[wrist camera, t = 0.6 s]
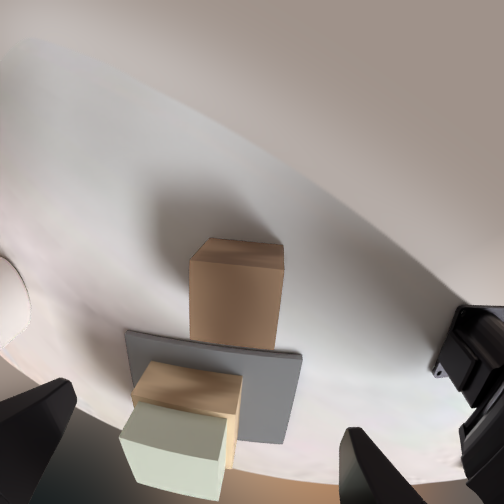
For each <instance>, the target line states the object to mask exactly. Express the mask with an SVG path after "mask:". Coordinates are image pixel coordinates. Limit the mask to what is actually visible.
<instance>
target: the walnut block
mask: <svg viewBox="0 0 504 504" xmlns="http://www.w3.org/2000/svg"><path fill="white" fill-rule="evenodd" d="M283 277H284V247H283V245H278V244H268V243H258V242H247V241H237V240H227V239H216V238H209V239H208V240H207V241H206V242H205V243H204V245H203V246H202V247H201V248H200V249H199V250H198V251H197V252H196V253H195V254H194V256H193V257H192V258H191V259H190V260H189V319H190V339H191V340H197V341H204V342H211V343H218V344H225V345H233V346H241V347H250V348H259V349H268V350H274V346H275V339H276V332H277V324H278V317H279V309H280V302H281V294H282V286H283Z"/></svg>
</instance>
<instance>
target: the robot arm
mask: <svg viewBox="0 0 504 504" xmlns="http://www.w3.org/2000/svg"><path fill="white" fill-rule="evenodd" d="M462 311H463V313H461V312H462ZM438 371H439V372H438ZM432 374H433V375H434V377H435V378H442V377H449V378H450V379H451V381H452V383H453V384H454V386H455V387H456V389H457V390H458V392H462V394H463V395H464V397H465V399H466V400H467V402H468V404H469V405H470V407H471V408H476V410H475V411H474V412H473V413H472V415H471V416H470V417H469V418H468V420H467V421H466V422H465V423H463V424H462V425H461V427H460V428H459V436H460V442H461V450H462V456H461V463H462V466H463V469H464V472H465V475H466V477H467V478H468V481H467V482H466V485H467V486H468V487H469V488H470V489H472V490H473V491H474V492H475V493H476V494H477V495H478V496H479V497H480V499H481V500H482V501H483V503H484V504H504V306H482V305H461V306H459V307H458V308H457V310H456V313H455V316H454V318H453V321H452V324H451V327H450V330H449V332H448V335H447V338H446V340H445V343H444V345H443V348H442V350H441V353H440V355H439V357H438V360H437V362H436V364H435V367H434V369H433V372H432ZM76 403H77V396H76V394H75V391H74V388H73V386H72V383H71V382H70V381H69V380H67V379H64V378H57V379H55V380H53V381H50V382H48V383H45V384H43V385H41V386H38V387H36V388H33V389H31V390H28V391H26V392H24V393H21V394H18V395H16V396H13V397H11V398H8V399H6V400H3V401H0V504H28V503H29V501H30V499H31V497H32V495H33V493H34V491H35V489H36V487H37V485H38V483H39V480H40V479H41V477H42V475H43V473H44V471H45V469H46V467H47V465H48V463H49V461H50V459H51V457H52V455H53V453H54V451H55V450H56V448H57V446H58V444H59V442H60V440H61V438H62V436H63V434H64V432H65V430H66V427H67V425H68V422H69V420H70V417H71V415H72V413H73V410H74V408H75V406H76ZM339 495H340V504H427V503H426V502H425V501H423V499H422V498H421V496H420V495H419V494H418V493H417V492H416V491H415V490H414V488H413V487H412V486H411V485H410V484H409V483H408V482H407V481H406V479H405V478H404V477H403V476H402V475H401V474H400V472H399V471H398V470H397V469H396V468H395V467H394V466H393V464H392V463H391V462H390V461H389V460H388V459H387V457H386V456H385V455H384V454H383V453H382V452H381V450H380V449H379V448H378V447H377V446H376V445H375V443H374V442H373V441H372V440H371V439H370V438H369V436H368V435H367V434H366V433H365V432H364V430H363V429H362V428H360V427H348V428H347V429H346V431H345V433H344V436H343V438H342V440H341V443H340V447H339Z"/></svg>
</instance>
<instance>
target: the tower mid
mask: <svg viewBox="0 0 504 504" xmlns="http://www.w3.org/2000/svg"><path fill="white" fill-rule="evenodd" d="M119 439H120V442H121V445H122V447H123V450H124V453H125V455H126V458H127V460H128V462H129V465H130V467H131V470H132V472H133V474H134V477H135V479H136V481H137V482H138V483H142V484H144V485H148V486H152V487H155V488H159V489H162V490H166V491H170V492H174V493H179V494H183V495H188V496H192V497H198V498H203V499H209V500H214V501H219V495H220V491H221V485H222V480H223V475H224V471H225V465H226V439H227V419H225V418H218V417H212V416H206V415H200V414H195V413H189V412H184V411H179V410H175V409H170V408H165V407H161V406H157V405H153V404H149V403H145V402H141V401H138V403H137V405H136V407H135V408H134V410H133V412H132V414H131V416H130V417H129V419H128V421H127V423H126V425H125V426H124V428H123V430H122V432H121V434H120V436H119Z"/></svg>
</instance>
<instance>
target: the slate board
mask: <svg viewBox="0 0 504 504" xmlns="http://www.w3.org/2000/svg"><path fill="white" fill-rule="evenodd" d="M125 340H126V347H127V353H128V359H129V364H130V370H131V375H132V380H133V385H134V388H135V386H136V385H137V383H138V381H139V380H140V378H141V376H142V375H143V373H144V371H145V370H146V368H147V367H148V365H149V363H150V362H151V361H155V362H160V363H164V364H170V365H175V366H180V367H186V368H191V369H197V370H203V371H210V372H216V373H223V374H231V375H239V376H243V379H242V392H241V404H240V416H239V428H238V437H237V440H241V441H249V442H259V443H270V444H283V441H284V437H285V433H286V430H287V426H288V422H289V418H290V414H291V409H292V405H293V401H294V397H295V392H296V388H297V384H298V379H299V374H300V370H301V365H302V360H303V359H302V355H297V354H285V353H274V352H263V351H254V350H245V349H237V348H229V347H221V346H214V345H207V344H200V343H194V342H188V341H182V340H176V339H170V338H164V337H159V336H154V335H148V334H143V333H138V332H134V331H129V330H128V331H127V332H126V333H125Z"/></svg>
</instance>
